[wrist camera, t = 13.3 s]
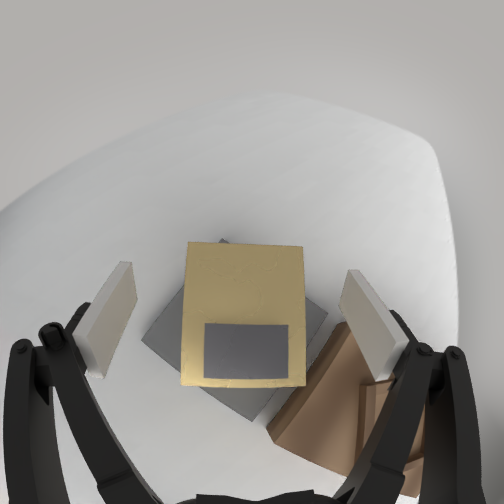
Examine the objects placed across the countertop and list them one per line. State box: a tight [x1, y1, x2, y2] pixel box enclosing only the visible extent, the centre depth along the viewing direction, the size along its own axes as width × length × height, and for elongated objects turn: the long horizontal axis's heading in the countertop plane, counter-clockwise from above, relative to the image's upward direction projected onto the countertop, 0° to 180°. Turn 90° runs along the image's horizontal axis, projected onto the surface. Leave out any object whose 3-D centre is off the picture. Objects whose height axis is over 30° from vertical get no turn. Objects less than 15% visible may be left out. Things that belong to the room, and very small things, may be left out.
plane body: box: [266, 321, 425, 498], centre depth 17 cm, size 17×11×6 cm
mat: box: [141, 238, 328, 422], centre depth 22 cm, size 11×11×1 cm
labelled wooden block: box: [181, 242, 306, 388], centre depth 16 cm, size 5×6×12 cm
